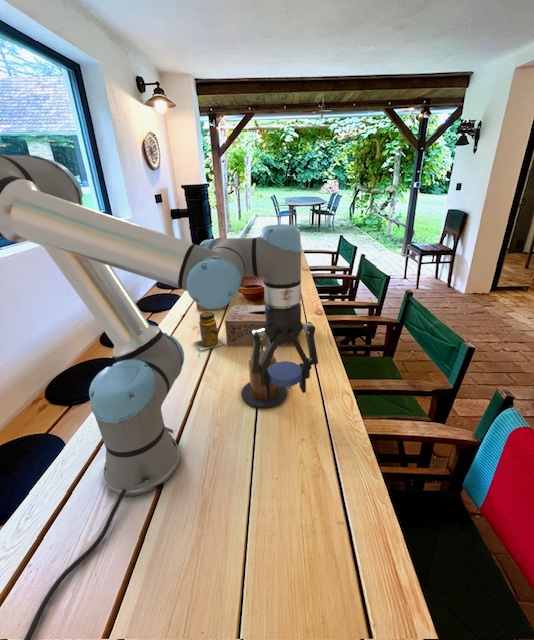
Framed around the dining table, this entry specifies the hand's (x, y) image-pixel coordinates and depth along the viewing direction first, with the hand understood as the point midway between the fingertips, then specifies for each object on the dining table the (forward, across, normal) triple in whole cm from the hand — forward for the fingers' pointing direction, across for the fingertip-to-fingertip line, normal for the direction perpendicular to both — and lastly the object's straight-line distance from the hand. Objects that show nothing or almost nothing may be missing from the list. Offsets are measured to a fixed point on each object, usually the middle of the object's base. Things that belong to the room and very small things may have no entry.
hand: (285, 392), depth 76 cm
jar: (+9, -3, +13) cm, 16 cm away
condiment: (+10, -18, +47) cm, 52 cm away
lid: (-6, 0, 0) cm, 6 cm away
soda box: (+10, -12, +99) cm, 100 cm away
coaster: (+10, -3, +13) cm, 17 cm away
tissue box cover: (+10, +3, +48) cm, 49 cm away
